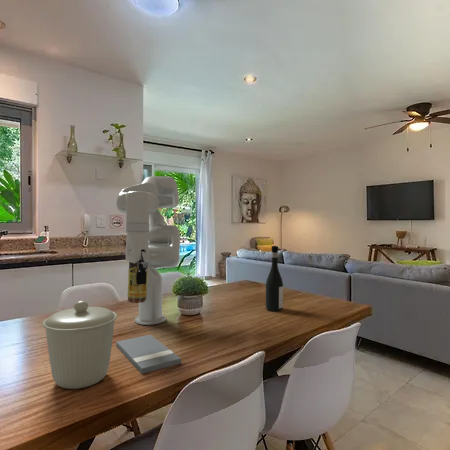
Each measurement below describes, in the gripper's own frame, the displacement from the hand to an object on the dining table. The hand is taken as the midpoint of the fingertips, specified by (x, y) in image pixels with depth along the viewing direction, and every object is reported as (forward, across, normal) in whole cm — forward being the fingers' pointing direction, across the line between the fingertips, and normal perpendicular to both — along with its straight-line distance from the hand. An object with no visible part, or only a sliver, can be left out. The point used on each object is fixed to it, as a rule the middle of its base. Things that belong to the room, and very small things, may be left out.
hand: (137, 281), depth 112 cm
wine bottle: (+22, -8, +69) cm, 73 cm away
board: (+22, +8, 0) cm, 23 cm away
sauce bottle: (+7, 0, 0) cm, 7 cm away
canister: (+22, +14, -20) cm, 33 cm away
